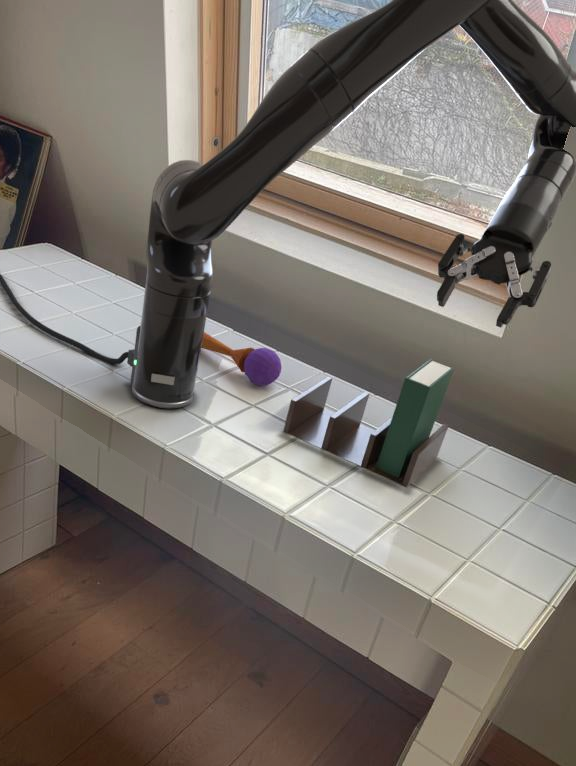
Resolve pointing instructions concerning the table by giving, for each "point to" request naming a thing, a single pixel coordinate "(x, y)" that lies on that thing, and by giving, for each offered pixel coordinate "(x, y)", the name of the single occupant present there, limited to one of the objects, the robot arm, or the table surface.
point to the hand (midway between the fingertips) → (469, 313)
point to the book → (414, 416)
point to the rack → (352, 432)
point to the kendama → (249, 360)
